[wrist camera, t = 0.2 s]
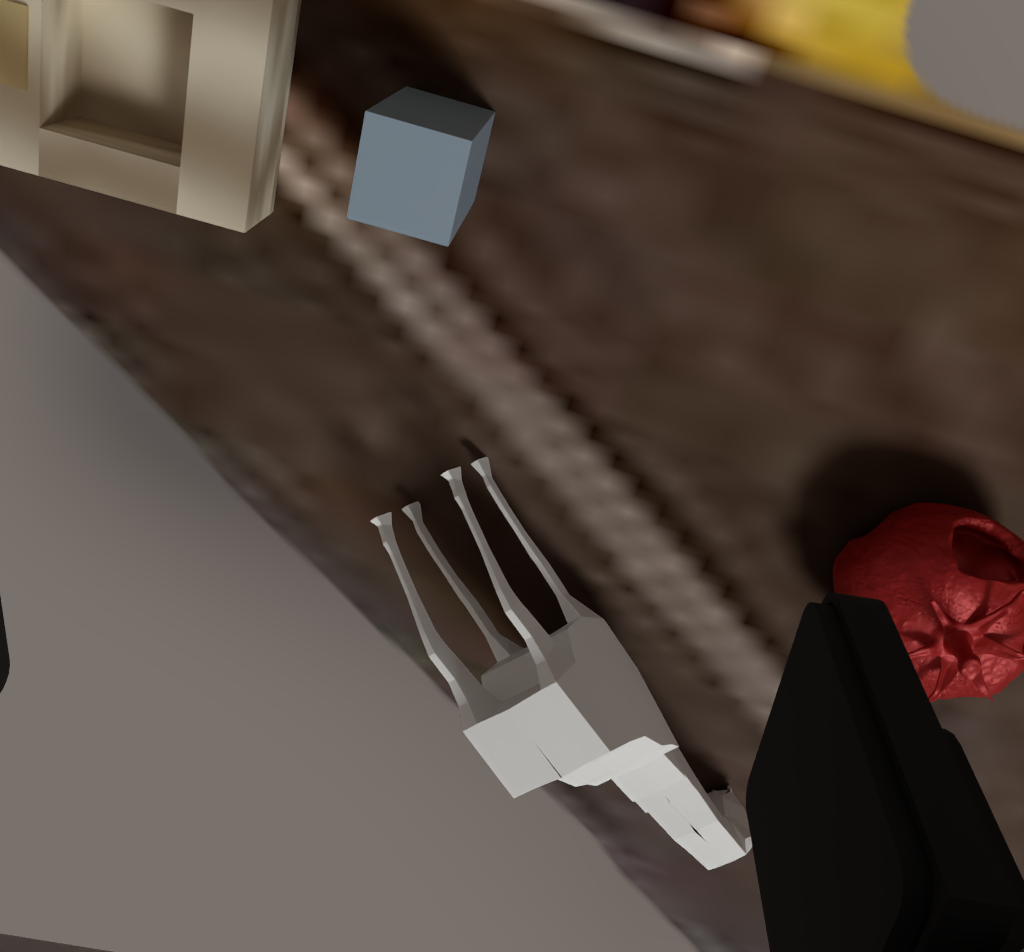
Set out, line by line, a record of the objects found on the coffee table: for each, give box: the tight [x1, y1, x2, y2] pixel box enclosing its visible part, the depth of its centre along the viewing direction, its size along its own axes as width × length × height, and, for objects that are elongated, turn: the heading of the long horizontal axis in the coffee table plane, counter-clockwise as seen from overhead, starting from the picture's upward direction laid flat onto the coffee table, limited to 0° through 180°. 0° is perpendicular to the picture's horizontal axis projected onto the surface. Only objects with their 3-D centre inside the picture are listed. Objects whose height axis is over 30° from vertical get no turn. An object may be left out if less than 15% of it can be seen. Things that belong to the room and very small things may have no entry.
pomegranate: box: [833, 502, 1024, 702], centre depth 47 cm, size 10×10×9 cm
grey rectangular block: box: [347, 86, 495, 246], centre depth 39 cm, size 4×4×8 cm
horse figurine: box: [371, 457, 752, 870], centre depth 52 cm, size 6×18×28 cm
